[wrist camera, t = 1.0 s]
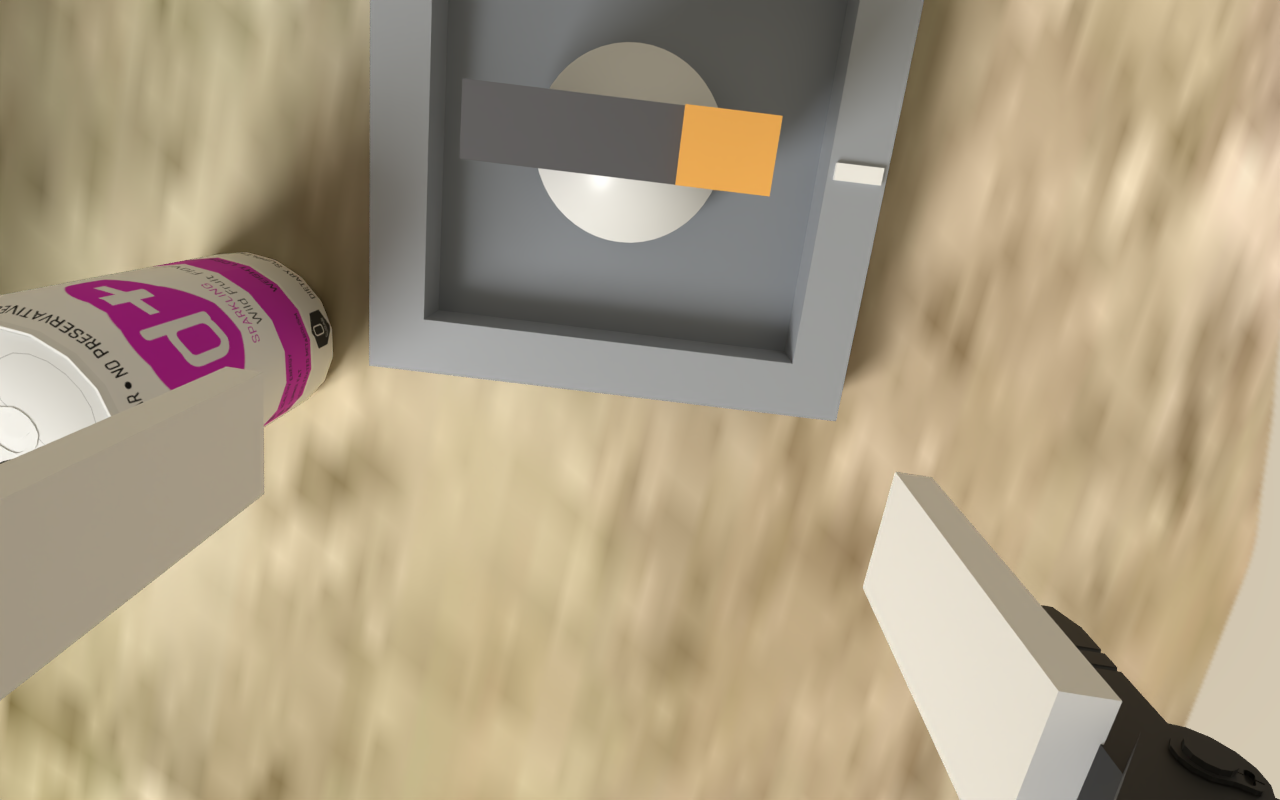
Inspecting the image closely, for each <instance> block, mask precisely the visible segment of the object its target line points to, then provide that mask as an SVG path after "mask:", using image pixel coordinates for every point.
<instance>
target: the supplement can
mask: <svg viewBox="0 0 1280 800" xmlns="http://www.w3.org/2000/svg"><path fill="white" fill-rule="evenodd" d="M332 358H333V341H332V327H331V325H330V322H329V320H328V317H327V315H326V312H325V309H324V307H323V304H322V302H321V300H320V299H319V298H318V297H317V295H316V294H315V293H314V292H313V290H312V289H311V288H310V287H309V286H308V284H307V283H306V282H305V281H304V279H303V278H302V277H301V276H299V275H298V274H296V273H295V272H293V271H292V270H290V269H289V268H287V267H285V266H284V265H282V264H281V263H279V262H278V261H276V260H274V259H270V258H266V257H263V256H259V255H256V254H252V253H248V252H241V253H228V254H217V255H212V256H206V257H201V258H196V259H190V260H185V261H180V262H174V263H169V264H164V265H158V266H153V267H148V268H142V269H137V270H132V271H126V272H121V273H115V274H110V275H105V276H99V277H94V278H89V279H83V280H78V281H73V282H67V283H62V284H57V285H51V286H46V287H41V288H35V289H30V290H25V291H19V292H14V293H9V294H3V295H0V462H2V461H6V460H10V459H14V458H16V457H18V456H20V455H23V454H25V453H27V452H30V451H32V450H34V449H37V448H39V447H41V446H44V445H46V444H48V443H51V442H53V441H55V440H57V439H60V438H62V437H64V436H67V435H69V434H71V433H74V432H76V431H78V430H81V429H83V428H85V427H88V426H90V425H92V424H94V423H97V422H99V421H101V420H104V419H106V418H108V417H111V416H113V415H115V414H118V413H120V412H122V411H125V410H127V409H129V408H132V407H134V406H136V405H138V404H141V403H143V402H145V401H148V400H150V399H152V398H155V397H157V396H159V395H162V394H164V393H166V392H169V391H171V390H173V389H175V388H178V387H180V386H182V385H185V384H187V383H189V382H192V381H194V380H196V379H199V378H201V377H203V376H206V375H208V374H210V373H212V372H215V371H217V370H219V369H222V368H224V367H232V368H239V369H245V370H251V371H258V372H263V408H264V427H266V426H267V425H269V424H270V423H272V422H273V421H275V420H276V419H278V418H280V417H281V416H283V415H284V414H286V413H287V412H289V411H290V410H292V409H294V408H295V407H297V406H298V405H300V404H301V403H303V402H304V401H306V400H308V398H309V397H310V396H311V395H312V394H313V393H314V392H315V391H316V390H317V389H318V387H319V386H320V385H321V384H322V383H323V382H324V381H325V378H326V375H327V372H328V369H329V367H330V364H331V361H332Z"/></svg>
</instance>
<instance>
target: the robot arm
mask: <svg viewBox="0 0 1280 800" xmlns="http://www.w3.org/2000/svg"><path fill="white" fill-rule="evenodd" d="M263 494H264V408H263V372H258V371H251V370H245V369H239V368H232V367H224V368H222V369H219V370H217V371H215V372H212V373H210V374H208V375H206V376H203V377H201V378H199V379H196V380H194V381H192V382H189V383H187V384H185V385H182V386H180V387H178V388H175V389H173V390H171V391H169V392H166V393H164V394H162V395H159V396H157V397H155V398H152V399H150V400H148V401H145V402H143V403H141V404H138V405H136V406H134V407H132V408H129V409H127V410H125V411H122V412H120V413H118V414H115V415H113V416H111V417H108V418H106V419H104V420H101V421H99V422H97V423H94V424H92V425H90V426H88V427H85V428H83V429H81V430H78V431H76V432H74V433H71V434H69V435H67V436H64V437H62V438H60V439H57V440H55V441H53V442H51V443H48V444H46V445H44V446H41V447H39V448H37V449H34V450H32V451H30V452H27V453H25V454H23V455H20V456H18V457H16V458H14V459H10V460H6V461H2V462H0V700H2V699H3V698H4V697H5V696H7V695H8V694H9V693H11V692H12V691H13V690H14V689H16V688H17V687H18V686H20V685H21V684H22V683H23V682H25V681H26V680H27V679H28V678H30V677H31V676H32V675H34V674H35V673H36V672H37V671H39V670H40V669H41V668H42V667H44V666H45V665H46V664H48V663H49V662H50V661H51V660H53V659H54V658H55V657H57V656H58V655H59V654H60V653H62V652H63V651H64V650H65V649H67V648H68V647H69V646H71V645H72V644H73V643H74V642H76V641H77V640H78V639H80V638H81V637H82V636H83V635H85V634H86V633H87V632H88V631H90V630H91V629H92V628H94V627H95V626H96V625H97V624H99V623H100V622H101V621H102V620H104V619H105V618H106V617H108V616H109V615H110V614H111V613H113V612H114V611H115V610H117V609H118V608H119V607H120V606H122V605H123V604H124V603H125V602H127V601H128V600H129V599H131V598H132V597H133V596H134V595H136V594H137V593H138V592H139V591H141V590H142V589H143V588H145V587H146V586H147V585H148V584H150V583H151V582H152V581H154V580H155V579H156V578H157V577H159V576H160V575H161V574H162V573H164V572H165V571H166V570H168V569H169V568H170V567H171V566H173V565H174V564H175V563H177V562H178V561H179V560H180V559H182V558H183V557H184V556H185V555H187V554H188V553H189V552H191V551H192V550H193V549H194V548H196V547H197V546H198V545H199V544H201V543H202V542H203V541H205V540H206V539H207V538H208V537H210V536H211V535H212V534H214V533H215V532H216V531H217V530H219V529H220V528H221V527H222V526H224V525H225V524H226V523H228V522H229V521H230V520H231V519H233V518H234V517H235V516H236V515H238V514H239V513H240V512H242V511H243V510H244V509H245V508H247V507H248V506H249V505H251V504H252V503H253V502H254V501H256V500H257V499H258V498H259V497H261V496H262V495H263ZM863 589H864V591H865V593H866V596H867V598H868V600H869V602H870V604H871V607H872V609H873V611H874V613H875V615H876V618H877V620H878V622H879V624H880V626H881V628H882V631H883V633H884V635H885V637H886V639H887V642H888V644H889V646H890V648H891V650H892V652H893V655H894V657H895V659H896V661H897V663H898V666H899V668H900V670H901V672H902V674H903V677H904V679H905V681H906V683H907V685H908V687H909V690H910V692H911V694H912V696H913V698H914V701H915V703H916V705H917V707H918V709H919V711H920V714H921V716H922V718H923V720H924V722H925V725H926V727H927V729H928V731H929V733H930V736H931V738H932V740H933V742H934V744H935V746H936V749H937V751H938V753H939V755H940V757H941V760H942V762H943V764H944V766H945V768H946V770H947V773H948V775H949V777H950V779H951V781H952V784H953V786H954V788H955V790H956V792H957V795H958V797H959V799H960V800H1279V799H1277V798H1275V796H1274V793H1273V790H1272V787H1271V785H1270V784H1269V782H1268V781H1267V780H1266V779H1265V778H1264V777H1263V775H1262V774H1261V773H1260V772H1259V771H1258V770H1257V769H1256V768H1255V767H1254V766H1253V765H1252V764H1250V763H1249V762H1248V761H1246V760H1245V759H1244V758H1243V757H1241V756H1240V755H1239V754H1237V753H1236V752H1235V751H1233V750H1231V749H1230V748H1228V747H1226V746H1224V745H1223V744H1221V743H1219V742H1218V741H1216V740H1214V739H1212V738H1210V737H1208V736H1206V735H1203V734H1201V733H1198V732H1196V731H1194V730H1191V729H1188V728H1186V727H1181V726H1177V725H1172V724H1168V723H1167V722H1166V721H1165V720H1164V719H1163V718H1162V717H1161V716H1160V715H1159V714H1158V712H1157V711H1156V710H1155V709H1154V708H1153V707H1152V706H1151V705H1150V704H1149V702H1148V701H1147V700H1146V699H1145V698H1144V697H1143V696H1142V695H1141V693H1140V692H1139V691H1138V690H1137V689H1136V688H1135V687H1134V686H1133V685H1132V683H1131V682H1130V681H1129V680H1128V679H1127V678H1126V677H1125V676H1124V675H1123V673H1122V672H1118V671H1117V667H1116V666H1115V665H1114V663H1113V662H1112V661H1111V660H1110V659H1109V658H1108V657H1107V656H1106V655H1105V654H1103V653H1101V649H1100V648H1099V647H1098V646H1097V645H1096V643H1095V642H1094V641H1093V640H1092V639H1091V638H1090V637H1089V636H1088V634H1087V633H1086V632H1085V631H1084V630H1083V629H1082V628H1081V627H1080V626H1078V625H1077V624H1075V623H1074V622H1073V621H1071V620H1070V619H1068V618H1067V617H1066V616H1064V615H1063V614H1061V613H1060V612H1059V611H1057V610H1056V609H1054V608H1053V607H1049V606H1042V605H1040V604H1039V603H1038V602H1037V600H1036V599H1035V598H1034V597H1033V596H1032V594H1031V593H1030V592H1029V591H1028V590H1027V589H1026V587H1025V586H1024V585H1023V584H1022V583H1021V582H1020V580H1019V579H1018V578H1017V577H1016V576H1015V574H1014V573H1013V572H1012V571H1011V570H1010V569H1009V567H1008V566H1007V565H1006V564H1005V563H1004V562H1003V560H1002V559H1001V558H1000V557H999V556H998V554H997V553H996V552H995V551H994V550H993V549H992V547H991V546H990V545H989V544H988V543H987V542H986V540H985V539H984V538H983V537H982V536H981V535H980V533H979V532H978V531H977V530H976V529H975V527H974V526H973V525H972V524H971V523H970V522H969V520H968V519H967V518H966V517H965V516H964V515H963V513H962V512H961V511H960V510H959V509H958V507H957V506H956V505H955V504H954V503H953V502H952V500H951V499H950V498H949V497H948V496H947V495H946V493H945V492H944V491H943V490H942V489H941V487H940V486H939V485H938V484H937V483H936V482H935V480H934V479H933V478H932V477H926V476H920V475H913V474H907V473H900V472H895V474H894V478H893V481H892V485H891V488H890V492H889V496H888V499H887V503H886V506H885V510H884V514H883V517H882V521H881V524H880V528H879V531H878V535H877V539H876V542H875V546H874V549H873V553H872V557H871V560H870V564H869V567H868V571H867V574H866V578H865V582H864V585H863Z"/></svg>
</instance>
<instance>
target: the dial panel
mask: <svg viewBox="0 0 1280 800" xmlns="http://www.w3.org/2000/svg"><path fill="white" fill-rule="evenodd" d="M923 3H924V0H370V263H369V366H378V367H386V368H395V369H403V370H411V371H420V372H428V373H436V374H445V375H453V376H461V377H470V378H478V379H487V380H495V381H503V382H512V383H520V384H528V385H537V386H545V387H553V388H562V389H570V390H579V391H587V392H595V393H604V394H612V395H620V396H629V397H637V398H645V399H654V400H662V401H670V402H679V403H687V404H696V405H704V406H712V407H721V408H729V409H737V410H746V411H754V412H762V413H771V414H779V415H788V416H796V417H804V418H813V419H821V420H829V421H836V419H837V414H838V409H839V404H840V399H841V395H842V390H843V385H844V380H845V376H846V371H847V366H848V361H849V356H850V352H851V347H852V342H853V337H854V333H855V328H856V323H857V318H858V313H859V309H860V304H861V299H862V294H863V290H864V285H865V280H866V275H867V270H868V266H869V261H870V256H871V251H872V247H873V242H874V237H875V232H876V227H877V223H878V218H879V213H880V208H881V204H882V199H883V194H884V189H885V184H886V180H887V175H888V170H889V165H890V161H891V156H892V151H893V146H894V141H895V137H896V132H897V127H898V122H899V118H900V113H901V108H902V103H903V99H904V94H905V89H906V84H907V79H908V75H909V70H910V65H911V60H912V56H913V51H914V46H915V41H916V36H917V32H918V27H919V22H920V17H921V13H922V8H923ZM622 42H637V43H644V44H649V45H653V46H656V47H659V48H662V49H665V50H667V51H669V52H671V53H673V54H674V55H676V56H678V57H679V58H681V59H682V60H683V61H685V62H686V63H687V64H689V65H690V66H691V67H692V68H693V69H694V70H695V71H696V72H697V73H698V74H699V76H700V77H701V78H702V79H703V81H704V82H705V83H706V85H707V87H708V88H709V90H710V91H711V93H712V95H713V97H714V100H715V102H716V104H717V107H718V108H723V109H731V110H740V111H748V112H756V113H764V114H772V115H781V116H783V117H782V124H781V130H780V136H779V142H778V148H777V154H776V160H775V166H774V172H773V179H772V185H771V191H770V197H769V196H761V195H753V194H744V193H736V192H728V191H720V190H712V192H711V194H710V196H709V197H708V199H707V200H706V202H705V203H704V205H703V206H702V207H701V208H700V210H699V211H698V212H697V213H696V214H695V215H694V216H693V217H692V218H691V219H690V220H689V221H688V222H687V223H685V224H684V225H682V226H681V227H679V228H678V229H677V230H675V231H673V232H671V233H669V234H667V235H665V236H662V237H659V238H656V239H653V240H649V241H644V242H634V243H626V242H616V241H610V240H606V239H603V238H600V237H597V236H594V235H592V234H590V233H588V232H586V231H584V230H583V229H581V228H580V227H578V226H577V225H575V224H574V223H573V222H572V221H570V220H569V219H568V218H567V217H566V216H565V215H564V214H563V213H562V212H561V211H560V210H559V209H558V208H557V206H556V205H555V203H554V202H553V201H552V199H551V198H550V196H549V194H548V192H547V190H546V189H545V187H544V184H543V182H542V179H541V177H540V174H539V170H538V168H532V167H524V166H516V165H507V164H499V163H491V162H483V161H474V160H466V159H459V157H460V131H461V104H462V78H465V79H473V80H481V81H490V82H498V83H506V84H514V85H522V86H531V87H539V88H547V89H549V88H550V87H551V85H552V84H553V82H554V81H555V80H556V78H557V77H558V75H559V74H560V73H561V72H562V71H563V70H564V69H565V68H566V67H567V66H568V65H569V64H571V63H572V62H573V61H575V60H576V59H577V58H578V57H580V56H582V55H584V54H585V53H587V52H589V51H591V50H594V49H596V48H599V47H601V46H605V45H609V44H613V43H622Z"/></svg>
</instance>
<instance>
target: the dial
mask: <svg viewBox="0 0 1280 800" xmlns="http://www.w3.org/2000/svg"><path fill="white" fill-rule="evenodd" d="M782 117H783V116H781V115H772V114H764V113H756V112H748V111H740V110H731V109H723V108H718V107H717V104H716V102H715V100H714V97H713V95H712V93H711V91H710V90H709V88H708V87H707V85H706V83H705V82H704V81H703V79H702V78H701V77H700V76H699V74H698V73H697V72H696V71H695V70H694V69H693V68H692V67H691V66H690V65H689V64H687V63H686V62H685V61H683V60H682V59H681V58H679V57H678V56H676V55H674V54H673V53H671V52H669V51H667V50H665V49H662V48H659V47H656V46H653V45H649V44H644V43H637V42H622V43H613V44H609V45H605V46H601V47H599V48H596V49H594V50H591V51H589V52H587V53H585V54H584V55H582V56H580V57H578V58H577V59H576V60H575V61H573V62H572V63H571V64H569V65H568V66H567V67H566V68H565V69H564V70H563V71H562V72H561V73H560V74H559V75H558V77H557V78H556V80H555V81H554V82H553V84H552V85H551V87H550V88H549V89H547V88H539V87H531V86H522V85H514V84H506V83H498V82H490V81H481V80H473V79H465V78H462V104H461V131H460V157H459V159H466V160H474V161H483V162H491V163H499V164H507V165H516V166H524V167H532V168H538V170H539V174H540V177H541V179H542V182H543V184H544V187H545V189H546V190H547V192H548V194H549V196H550V198H551V199H552V201H553V202H554V203H555V205H556V206H557V208H558V209H559V210H560V211H561V212H562V213H563V214H564V215H565V216H566V217H567V218H568V219H569V220H570V221H572V222H573V223H574V224H575V225H577V226H578V227H580V228H581V229H583V230H584V231H586V232H588V233H590V234H592V235H594V236H597V237H600V238H603V239H606V240H610V241H616V242H626V243H634V242H644V241H649V240H653V239H656V238H659V237H662V236H665V235H667V234H669V233H671V232H673V231H675V230H677V229H678V228H679V227H681V226H682V225H684V224H685V223H687V222H688V221H689V220H690V219H691V218H692V217H693V216H694V215H695V214H696V213H697V212H698V211H699V210H700V208H701V207H702V206H703V205H704V203H705V202H706V200H707V199H708V197H709V196H710V194H711V192H712V190H720V191H728V192H736V193H744V194H753V195H761V196H769V197H770V191H771V185H772V179H773V172H774V166H775V160H776V154H777V148H778V142H779V136H780V130H781V124H782Z"/></svg>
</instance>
